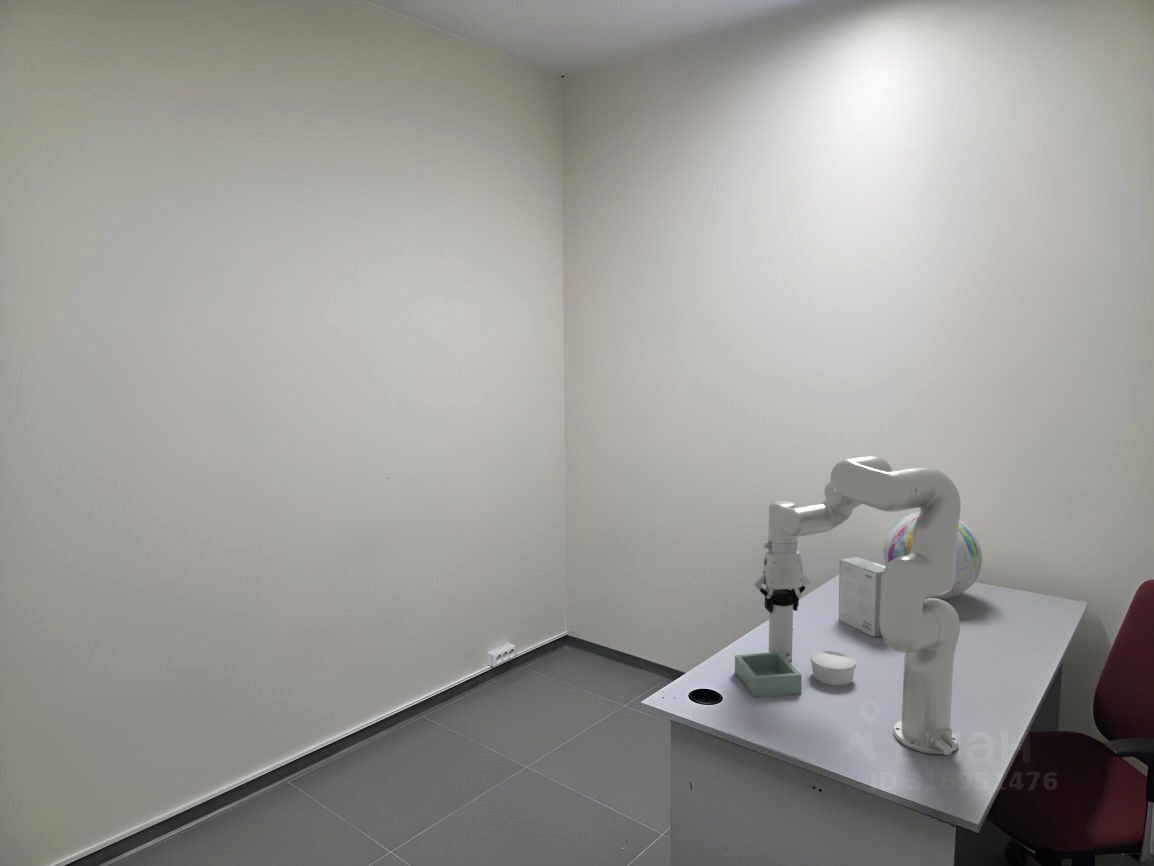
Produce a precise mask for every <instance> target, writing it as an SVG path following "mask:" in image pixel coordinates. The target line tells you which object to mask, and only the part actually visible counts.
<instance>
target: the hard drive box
mask: <svg viewBox="0 0 1154 866" xmlns="http://www.w3.org/2000/svg"><path fill="white" fill-rule="evenodd" d="M885 567H886V565H883V564H880V563H877V562H874V561H870V560H868V559H865V558H862V557H858V556H854V557H848V558H847V557H846V558H843V559H842V558H841V559H839V579H838V580H839V582H838V583H839V587H838V588H839V589H838V596H839V597H838V621H841V622H843V623H845V625H846V624H847V625H848V626H851V627H853V628H854V629H857V630H859V631H861V632H863V633H864V634H867V635H869V636H871V637H874V638H877V637H880V636H882V634H881V630H880V595H881V579H882V574H883V571H884V569H885Z"/></svg>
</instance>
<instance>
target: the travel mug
mask: <svg viewBox="0 0 1154 866" xmlns="http://www.w3.org/2000/svg"><path fill="white" fill-rule="evenodd" d="M793 594H794V595H795V592H794V590H791V589H785V590H774V591H773V594H772V596H771V598H772V599H773V612H772V613H770V612H769V611H768V612H769V613H768V615H769V616H768V618H769V619H768V624H769V625H768V653H771V652H780V653H781V654H782V655H783V656H784V657H785V658H786V659H787V660H788V661H789V662H790V663H791V664H792V663H793V633H794V632H793V630H794V629H793V628H794V627H793V624H794V623H793V622H794V618H793V617H794V610H793Z"/></svg>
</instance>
